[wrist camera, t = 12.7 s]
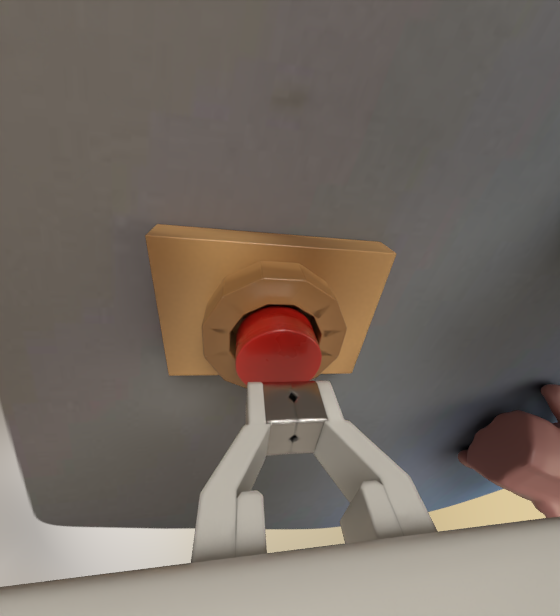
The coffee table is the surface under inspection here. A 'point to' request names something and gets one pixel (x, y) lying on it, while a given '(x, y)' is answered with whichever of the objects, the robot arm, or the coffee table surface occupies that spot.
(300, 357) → the button
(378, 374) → the coffee table surface
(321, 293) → the button block
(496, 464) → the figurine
